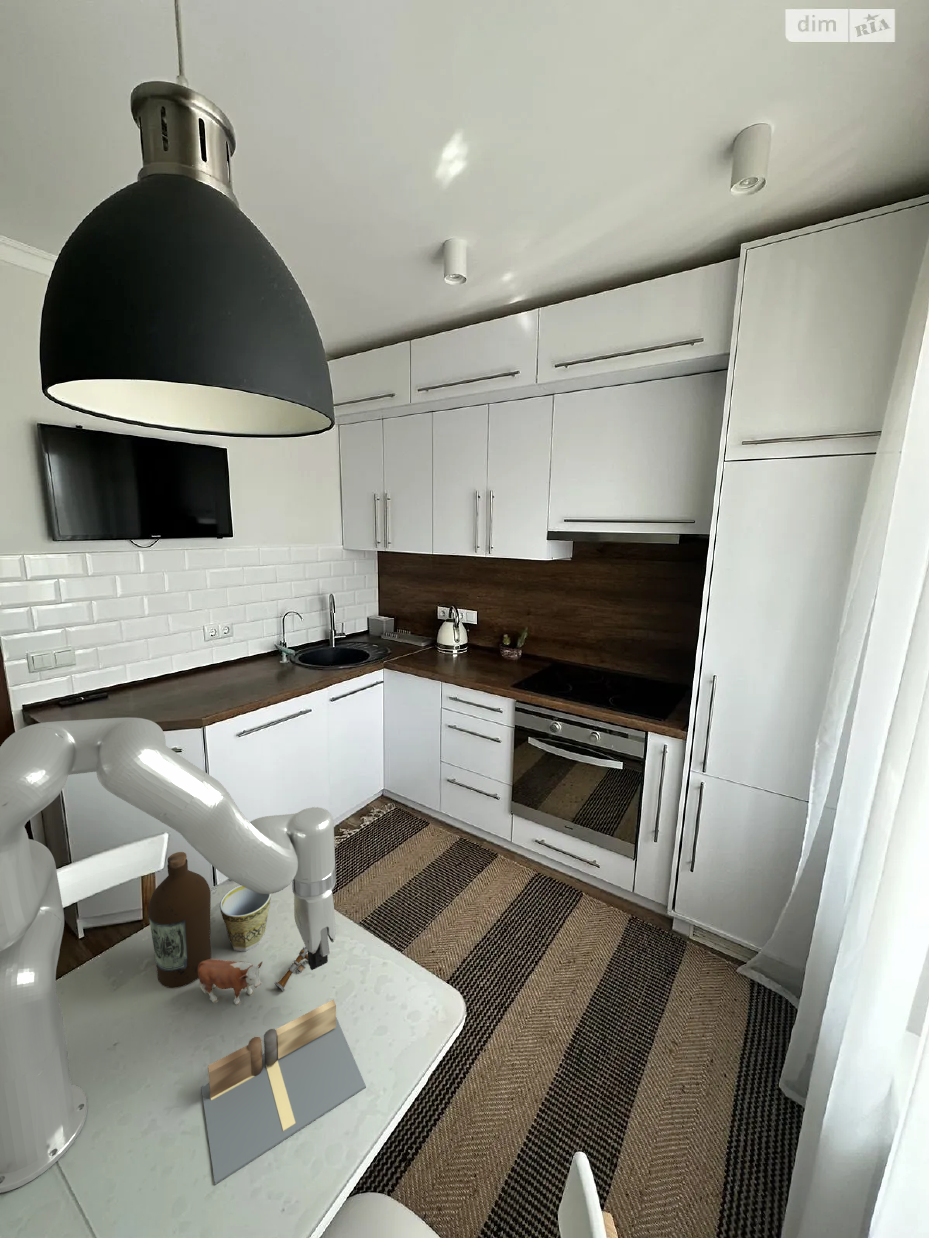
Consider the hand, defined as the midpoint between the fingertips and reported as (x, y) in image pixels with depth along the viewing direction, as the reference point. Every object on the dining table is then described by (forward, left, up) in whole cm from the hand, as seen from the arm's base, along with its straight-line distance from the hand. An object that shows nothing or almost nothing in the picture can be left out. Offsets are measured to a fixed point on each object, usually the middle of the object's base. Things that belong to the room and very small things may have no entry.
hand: (318, 963), depth 92 cm
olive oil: (-20, +22, -9) cm, 31 cm away
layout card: (-9, -11, -9) cm, 17 cm away
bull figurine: (-13, +10, -9) cm, 19 cm away
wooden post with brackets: (-2, +8, -9) cm, 12 cm away
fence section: (-16, -6, -8) cm, 19 cm away
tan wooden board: (-5, -6, -8) cm, 11 cm away
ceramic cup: (-7, +24, -9) cm, 26 cm away
